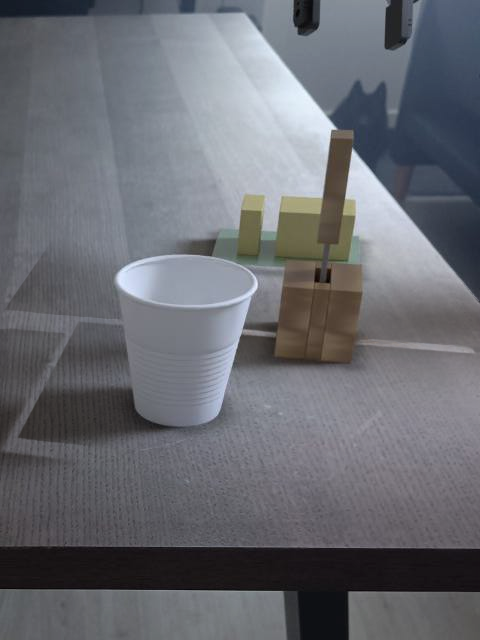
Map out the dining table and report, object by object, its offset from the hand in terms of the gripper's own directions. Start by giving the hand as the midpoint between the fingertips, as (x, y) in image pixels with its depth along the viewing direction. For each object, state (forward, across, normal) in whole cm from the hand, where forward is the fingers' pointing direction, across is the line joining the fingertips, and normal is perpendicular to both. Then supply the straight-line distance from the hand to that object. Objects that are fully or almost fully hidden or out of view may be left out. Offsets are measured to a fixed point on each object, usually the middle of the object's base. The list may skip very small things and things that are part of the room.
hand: (352, 40), depth 87 cm
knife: (+26, -4, -1) cm, 26 cm away
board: (+16, +4, +16) cm, 23 cm away
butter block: (+15, +6, +14) cm, 21 cm away
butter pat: (+14, +1, +17) cm, 22 cm away
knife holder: (+27, -3, -1) cm, 27 cm away
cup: (+32, -18, -5) cm, 37 cm away
